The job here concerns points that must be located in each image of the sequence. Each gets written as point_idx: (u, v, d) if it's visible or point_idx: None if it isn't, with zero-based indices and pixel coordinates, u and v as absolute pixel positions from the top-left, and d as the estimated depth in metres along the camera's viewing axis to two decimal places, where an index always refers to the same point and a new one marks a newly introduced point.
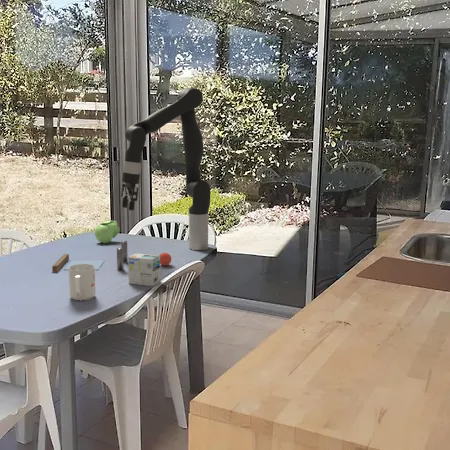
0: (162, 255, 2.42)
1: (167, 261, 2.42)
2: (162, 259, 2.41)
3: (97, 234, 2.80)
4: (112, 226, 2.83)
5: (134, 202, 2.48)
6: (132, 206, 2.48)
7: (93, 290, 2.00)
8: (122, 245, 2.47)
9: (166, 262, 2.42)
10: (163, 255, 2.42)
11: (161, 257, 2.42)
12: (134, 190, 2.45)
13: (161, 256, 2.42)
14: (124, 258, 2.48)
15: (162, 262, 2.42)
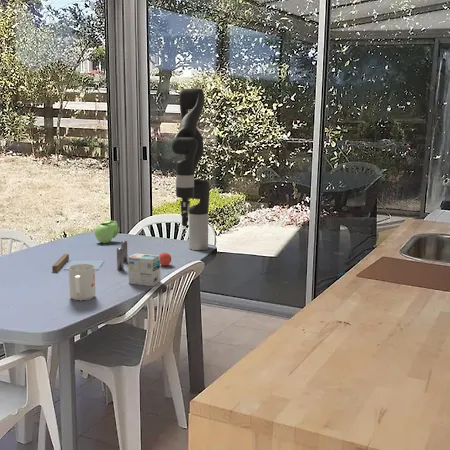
0: (162, 255, 2.42)
1: (167, 261, 2.42)
2: (162, 259, 2.41)
3: (97, 234, 2.80)
4: (112, 226, 2.83)
5: (187, 217, 2.36)
6: (184, 221, 2.36)
7: (93, 290, 2.00)
8: (122, 245, 2.47)
9: (166, 262, 2.42)
10: (163, 255, 2.42)
11: (161, 257, 2.42)
12: (183, 205, 2.33)
13: (161, 256, 2.42)
14: (124, 258, 2.48)
15: (162, 262, 2.42)
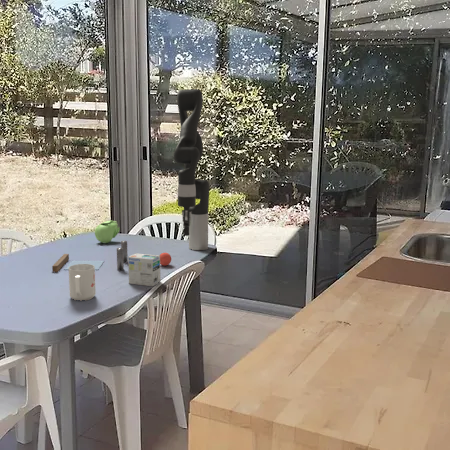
0: (162, 255, 2.42)
1: (167, 261, 2.42)
2: (162, 259, 2.41)
3: (97, 234, 2.80)
4: (112, 226, 2.83)
5: (189, 227, 2.41)
6: (186, 231, 2.40)
7: (93, 290, 2.00)
8: (122, 245, 2.47)
9: (166, 262, 2.42)
10: (163, 255, 2.42)
11: (161, 257, 2.42)
12: (185, 219, 2.35)
13: (161, 256, 2.42)
14: (124, 258, 2.48)
15: (162, 262, 2.42)
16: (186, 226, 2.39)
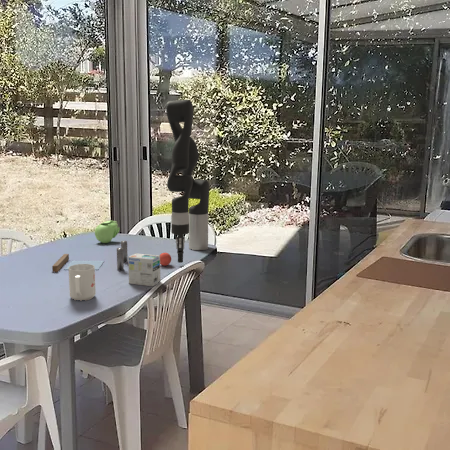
0: (162, 255, 2.42)
1: (167, 261, 2.42)
2: (162, 259, 2.41)
3: (97, 234, 2.80)
4: (112, 226, 2.83)
5: (182, 254, 2.43)
6: (180, 258, 2.42)
7: (93, 290, 2.00)
8: (122, 245, 2.47)
9: (166, 262, 2.42)
10: (163, 255, 2.42)
11: (161, 257, 2.42)
12: (179, 247, 2.37)
13: (161, 256, 2.42)
14: (124, 258, 2.48)
15: (162, 262, 2.42)
16: (180, 253, 2.41)
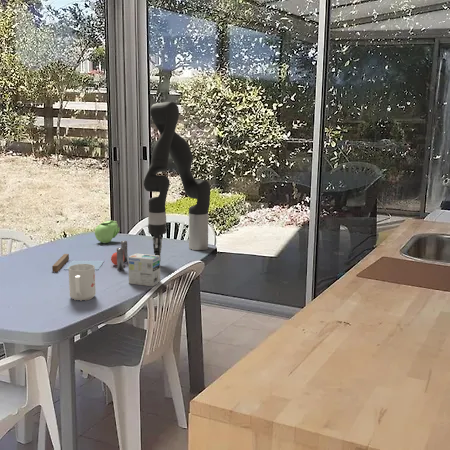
0: (113, 256, 2.42)
1: None
2: (113, 259, 2.41)
3: (97, 234, 2.80)
4: (112, 226, 2.83)
5: (159, 254, 2.43)
6: None
7: (93, 290, 2.00)
8: (122, 245, 2.47)
9: None
10: (114, 256, 2.42)
11: (112, 258, 2.42)
12: (155, 247, 2.37)
13: (112, 257, 2.42)
14: (124, 258, 2.48)
15: (115, 262, 2.42)
16: (157, 253, 2.41)
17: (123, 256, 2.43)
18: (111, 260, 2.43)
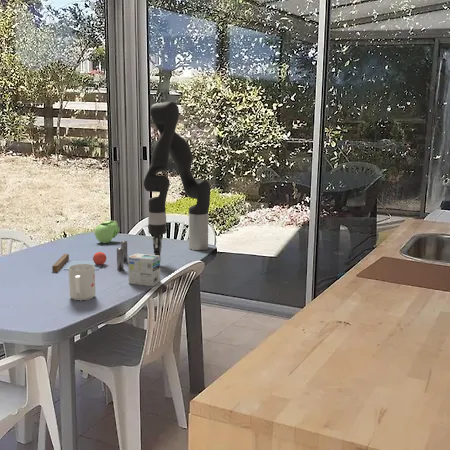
0: (101, 263, 2.43)
1: (95, 258, 2.42)
2: (100, 261, 2.42)
3: (97, 234, 2.80)
4: (112, 226, 2.83)
5: (159, 254, 2.43)
6: None
7: (93, 290, 2.00)
8: (122, 245, 2.47)
9: (96, 257, 2.41)
10: (100, 264, 2.42)
11: (101, 262, 2.42)
12: (155, 247, 2.37)
13: (101, 263, 2.42)
14: (124, 258, 2.48)
15: (100, 257, 2.41)
16: (157, 253, 2.41)
17: (93, 258, 2.44)
18: (104, 260, 2.43)
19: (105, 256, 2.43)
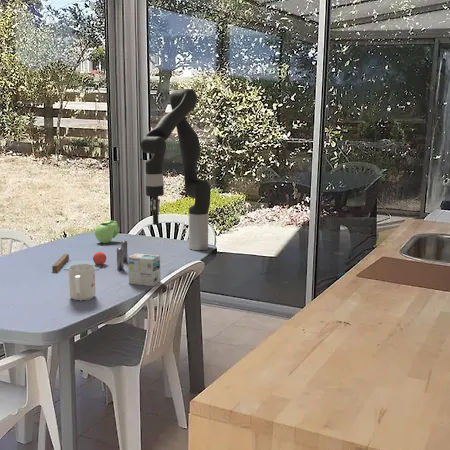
0: (101, 263, 2.43)
1: (95, 258, 2.42)
2: (100, 261, 2.42)
3: (97, 234, 2.80)
4: (112, 226, 2.83)
5: (157, 216, 2.43)
6: (155, 220, 2.43)
7: (93, 290, 2.00)
8: (122, 245, 2.47)
9: (96, 257, 2.41)
10: (100, 264, 2.42)
11: (101, 262, 2.42)
12: (153, 209, 2.38)
13: (101, 263, 2.42)
14: (124, 258, 2.48)
15: (100, 257, 2.41)
16: (155, 215, 2.41)
17: (93, 258, 2.44)
18: (104, 260, 2.43)
19: (105, 256, 2.43)
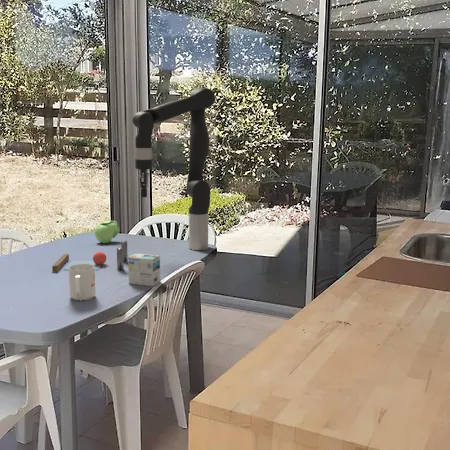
0: (101, 263, 2.43)
1: (95, 258, 2.42)
2: (100, 261, 2.42)
3: (97, 234, 2.80)
4: (112, 226, 2.83)
5: (146, 189, 2.54)
6: (144, 193, 2.54)
7: (93, 290, 2.00)
8: (122, 245, 2.47)
9: (96, 257, 2.41)
10: (100, 264, 2.42)
11: (101, 262, 2.42)
12: (141, 181, 2.48)
13: (101, 263, 2.42)
14: (124, 258, 2.48)
15: (100, 257, 2.41)
16: (143, 188, 2.52)
17: (93, 258, 2.44)
18: (104, 260, 2.43)
19: (105, 256, 2.43)
